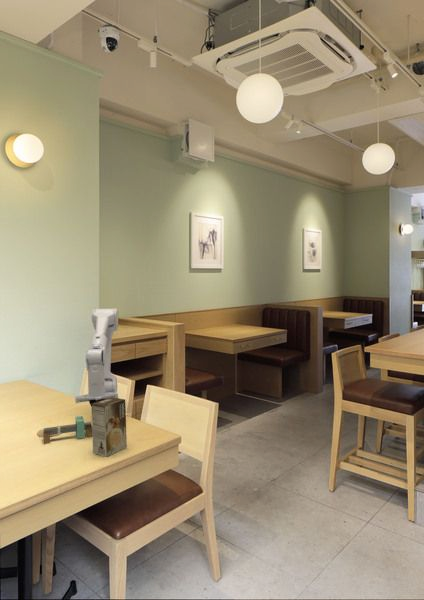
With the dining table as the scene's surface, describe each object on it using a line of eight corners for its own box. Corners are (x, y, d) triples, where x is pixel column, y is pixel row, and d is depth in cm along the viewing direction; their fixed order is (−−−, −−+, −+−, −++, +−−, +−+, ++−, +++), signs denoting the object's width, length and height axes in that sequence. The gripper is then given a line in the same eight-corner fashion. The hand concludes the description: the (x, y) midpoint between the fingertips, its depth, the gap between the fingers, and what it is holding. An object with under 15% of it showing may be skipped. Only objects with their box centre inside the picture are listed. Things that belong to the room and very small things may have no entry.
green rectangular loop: (82, 432, 155) (82, 415, 155) (84, 437, 149) (84, 420, 149) (75, 433, 154) (75, 416, 154) (77, 439, 148) (77, 421, 148)
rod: (91, 432, 155) (90, 420, 155) (92, 436, 151) (92, 424, 151) (43, 438, 149) (43, 426, 149) (43, 443, 145) (43, 431, 144)
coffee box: (113, 443, 144) (112, 396, 144) (127, 447, 141) (126, 399, 140) (92, 453, 137) (90, 403, 136) (106, 457, 133) (105, 406, 132)
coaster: (62, 426, 161) (62, 425, 161) (64, 434, 153) (64, 433, 153) (36, 430, 158) (36, 429, 158) (37, 438, 149) (37, 437, 149)
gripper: (76, 387, 147) (77, 426, 147) (119, 383, 152) (119, 420, 153) (74, 382, 153) (75, 420, 154) (115, 378, 159) (116, 415, 159)
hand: (97, 420), depth 154 cm, fingers closed
